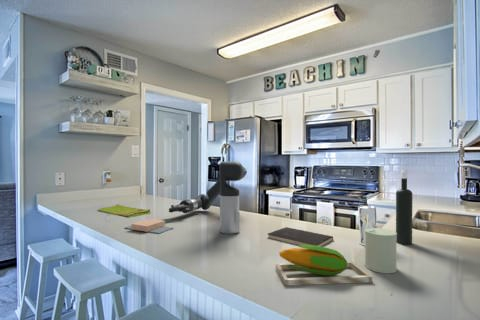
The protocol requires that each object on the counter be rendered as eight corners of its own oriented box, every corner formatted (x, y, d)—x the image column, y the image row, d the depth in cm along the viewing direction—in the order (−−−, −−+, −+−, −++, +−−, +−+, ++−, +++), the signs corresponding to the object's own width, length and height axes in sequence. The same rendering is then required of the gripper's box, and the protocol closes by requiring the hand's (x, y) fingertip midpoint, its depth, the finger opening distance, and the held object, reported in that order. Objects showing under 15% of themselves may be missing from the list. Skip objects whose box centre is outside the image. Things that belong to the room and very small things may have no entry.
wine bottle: (393, 242, 111) (393, 170, 111) (398, 239, 115) (399, 169, 114) (409, 246, 106) (409, 170, 106) (414, 243, 110) (414, 170, 110)
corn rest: (351, 266, 86) (351, 261, 86) (372, 282, 75) (372, 276, 75) (275, 268, 84) (275, 263, 84) (284, 285, 73) (284, 280, 73)
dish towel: (129, 218, 157) (129, 213, 157) (96, 211, 177) (96, 206, 177) (151, 214, 170) (151, 209, 170) (118, 208, 189) (118, 203, 189)
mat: (173, 228, 132) (173, 227, 132) (159, 233, 123) (159, 232, 123) (140, 224, 141) (140, 223, 141) (124, 228, 132) (124, 227, 132)
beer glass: (365, 247, 105) (366, 209, 105) (353, 242, 112) (353, 206, 112) (380, 245, 107) (380, 208, 107) (367, 240, 113) (367, 205, 113)
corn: (351, 258, 74) (278, 247, 79) (348, 283, 75) (276, 271, 80) (347, 246, 81) (280, 236, 86) (344, 269, 82) (279, 259, 87)
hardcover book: (316, 250, 102) (316, 244, 102) (267, 238, 118) (267, 233, 118) (333, 241, 114) (333, 236, 114) (286, 231, 130) (286, 226, 129)
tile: (164, 220, 135) (147, 226, 124) (164, 226, 135) (147, 231, 124) (149, 218, 139) (131, 223, 128) (149, 224, 139) (131, 229, 128)
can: (358, 262, 90) (358, 226, 90) (385, 261, 90) (385, 226, 90) (374, 273, 81) (374, 234, 80) (403, 273, 81) (403, 233, 81)
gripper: (198, 212, 159) (179, 218, 143) (180, 211, 165) (160, 216, 149) (198, 200, 159) (179, 204, 143) (180, 198, 165) (160, 202, 149)
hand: (169, 210), depth 146 cm, fingers closed
